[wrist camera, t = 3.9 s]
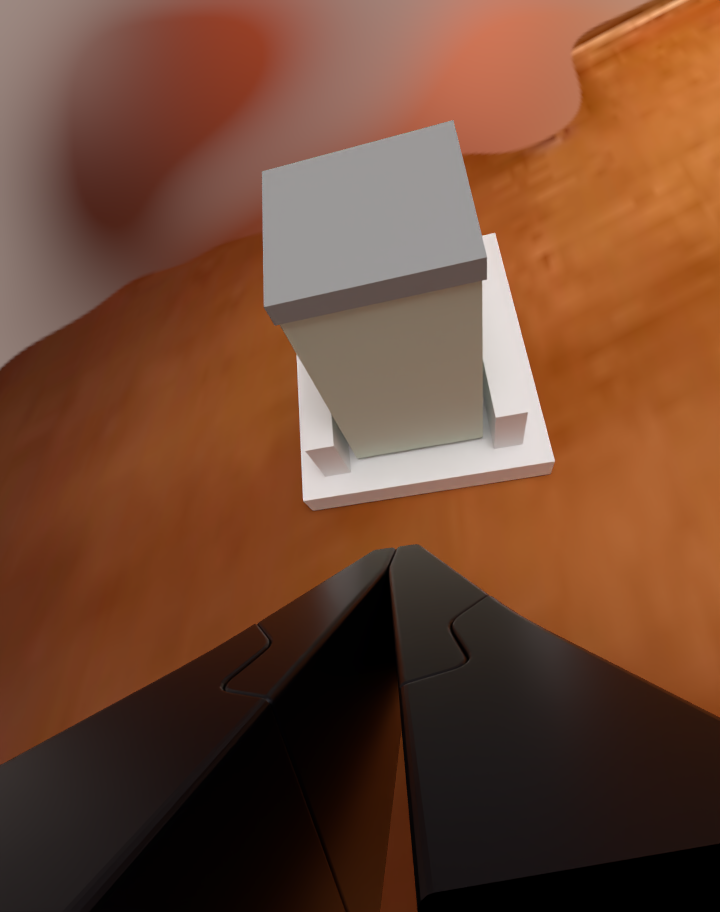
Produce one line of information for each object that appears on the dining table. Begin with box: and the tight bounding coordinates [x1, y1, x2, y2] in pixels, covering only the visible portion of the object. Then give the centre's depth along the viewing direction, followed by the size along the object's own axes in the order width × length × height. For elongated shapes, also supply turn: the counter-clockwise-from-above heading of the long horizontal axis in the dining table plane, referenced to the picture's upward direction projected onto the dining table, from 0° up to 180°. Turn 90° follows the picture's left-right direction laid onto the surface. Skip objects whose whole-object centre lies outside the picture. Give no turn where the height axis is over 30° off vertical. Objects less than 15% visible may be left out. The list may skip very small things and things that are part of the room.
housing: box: [297, 233, 555, 511], centre depth 25 cm, size 13×11×4 cm
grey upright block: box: [262, 120, 487, 458], centre depth 19 cm, size 5×6×11 cm
